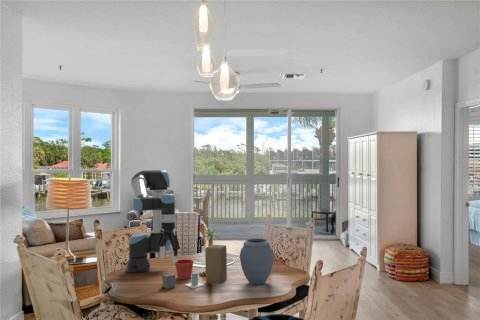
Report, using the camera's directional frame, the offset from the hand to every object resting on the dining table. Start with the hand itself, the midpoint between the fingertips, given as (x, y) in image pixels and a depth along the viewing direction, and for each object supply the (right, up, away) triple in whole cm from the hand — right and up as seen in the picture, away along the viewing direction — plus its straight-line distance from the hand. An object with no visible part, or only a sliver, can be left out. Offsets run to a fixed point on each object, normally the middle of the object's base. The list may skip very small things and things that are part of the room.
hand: (168, 260), depth 233 cm
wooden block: (+26, -15, +11) cm, 32 cm away
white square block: (+14, -15, +1) cm, 21 cm away
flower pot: (+6, -15, +19) cm, 25 cm away
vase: (+50, -14, +4) cm, 52 cm away
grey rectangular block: (0, -15, 0) cm, 15 cm away
